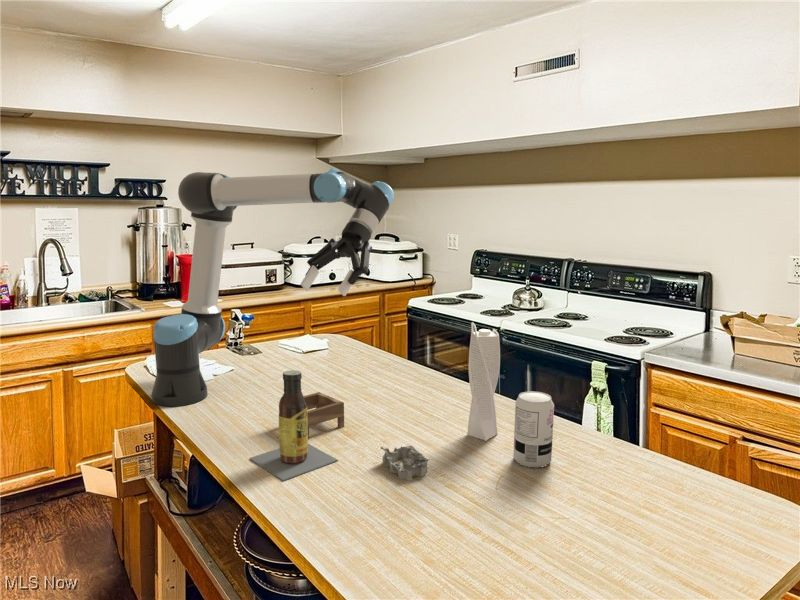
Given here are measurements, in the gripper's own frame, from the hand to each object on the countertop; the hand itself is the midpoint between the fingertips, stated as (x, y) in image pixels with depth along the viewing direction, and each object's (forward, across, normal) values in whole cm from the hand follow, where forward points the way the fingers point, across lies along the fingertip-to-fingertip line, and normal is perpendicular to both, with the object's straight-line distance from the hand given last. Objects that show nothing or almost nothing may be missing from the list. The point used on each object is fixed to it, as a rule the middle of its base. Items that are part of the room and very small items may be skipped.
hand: (322, 290), depth 154 cm
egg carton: (+33, -36, -15) cm, 52 cm away
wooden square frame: (+30, -4, -18) cm, 35 cm away
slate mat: (+41, -14, -6) cm, 44 cm away
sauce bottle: (+41, -15, -6) cm, 44 cm away
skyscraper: (+14, -41, -34) cm, 55 cm away
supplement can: (+19, -57, -29) cm, 67 cm away
